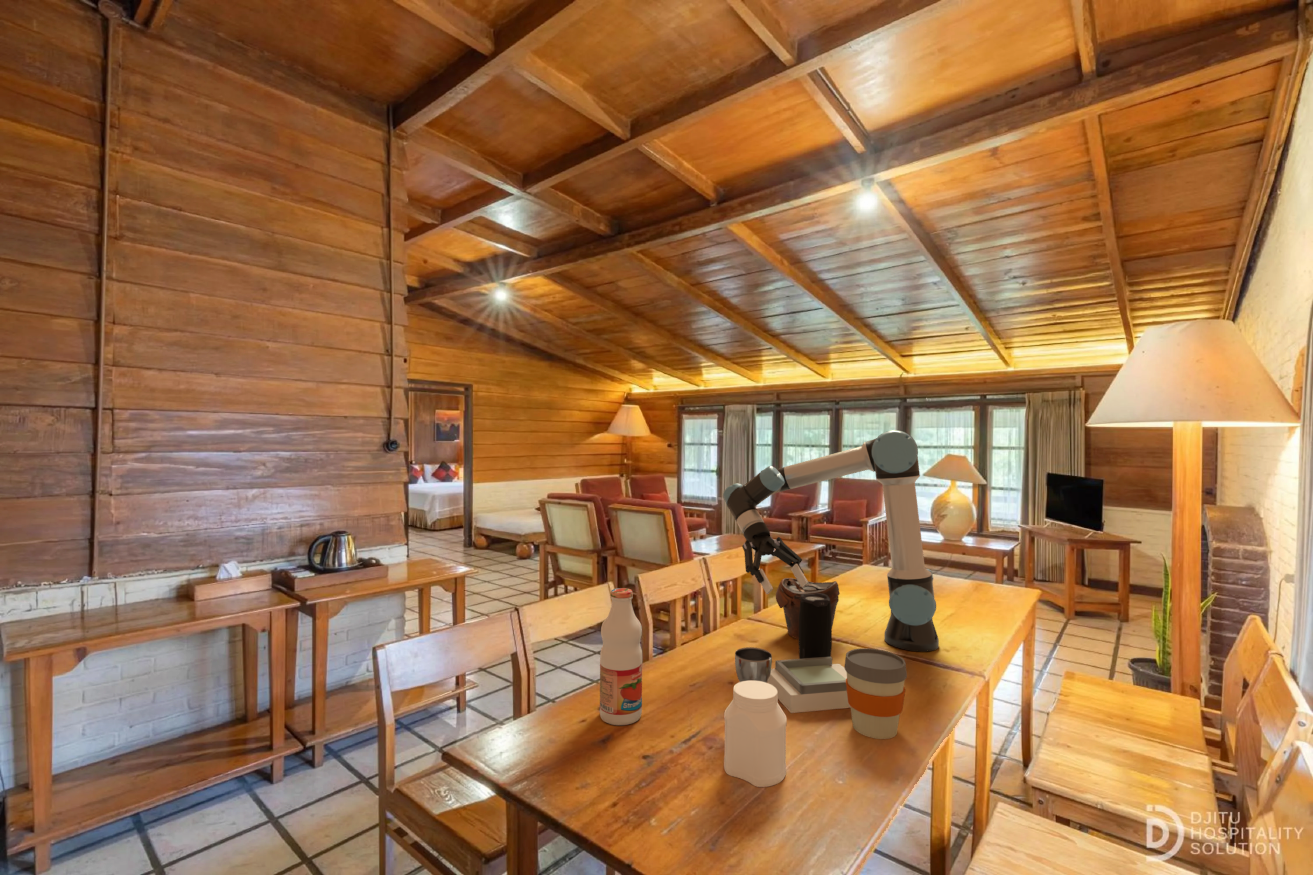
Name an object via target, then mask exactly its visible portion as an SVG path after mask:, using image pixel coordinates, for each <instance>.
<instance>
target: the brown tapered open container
mask: <svg viewBox="0 0 1313 875" xmlns="http://www.w3.org/2000/svg"><path fill="white" fill-rule="evenodd" d="M808 582H809V583H808V584H807V585H806V586H805V587H804V588H802V587H801V586H800V584H799V582H798V581H797V579H796V578H793V577H784V578H782V579H781V580H780V582H779V584H778V586H777V590H776V592H775V600H776V603H777V605H778V607H779V609H783V613H784V619H785V625H786V628H787V633H788V636H790V637H792V638H793V639H796V640H799V610H800V601H801V598H800V597H801V595H802V594H815V593H821V594H825V595H828V597H829V598H830V602H831V614H832V627H833V625H834V619H835V616H836V615H835V614H836V612H837V605H838V603H839V601H840V599H839V598H840V597H839V596H840V594H841V593H840V588H839V584H838V581H836V580H835V581H832V582H831V581H827V582H812V581H808Z"/></svg>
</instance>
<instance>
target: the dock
mask: <svg viewBox="0 0 1313 875" xmlns="http://www.w3.org/2000/svg"><path fill="white" fill-rule="evenodd" d="M774 662H775V663H774V665H775V666H774V668H771V674H770V678H769V680H768V682H767V683H769V684H771V685H773V686H774V687H775V688H776V689H777V691H778V700H779V702H780V704H782V705H783V706H784V707H785V708H786V709H787V710H788V711H789V713H790V714H794V713H795V714H796V713H806V712H816V711H828V710H836V709H837V710H839V709H848V708H850V709H851V706H850V705H849V703H848V697H847V689H846V679H847V672H846V670H845V668H844V666H843V665H842V664H840V663H833V658H832V656H831V657H818V658H804V659H799V658H795V659H794V658H793V659H791V658H790V659H779V660H775V661H774Z"/></svg>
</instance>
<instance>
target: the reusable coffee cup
mask: <svg viewBox="0 0 1313 875" xmlns="http://www.w3.org/2000/svg"><path fill="white" fill-rule="evenodd" d="M844 660H845V661H844V666H843V667H844V668H845V670H846V672H847V679H846V689H847V697H848V703H849V705H850V706H851V708H850V713H851V714H850V715H851V721H852V728H853V729H854V730H855V731H856V732H857V733H859V734H860V735H863V736H865V737H869V738H873V739H877V740H884V739H885V740H887V739H892V738H894V737H896V736H897V733H898V728H899V727H898V726H899V723H900V722H899V721H900V714H902V712H903V709H904V701H905V694H906V687H905V680H906V679H907V677H908V676H907V675H908V673H907V666H906V665H907V664H906V661H905V659H904V658H903V657H901V656H900V655H898V654H896V653H894V652H891V651H887V650H882V649H877V648H854V649H850V650H848V651H847V652H846V654H845V659H844Z"/></svg>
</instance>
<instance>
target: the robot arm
mask: <svg viewBox="0 0 1313 875" xmlns="http://www.w3.org/2000/svg"><path fill="white" fill-rule="evenodd" d="M918 455H919V448H918V444H917V442H916V441H915V439H914V438H913V436H911V435H910V434H909V433H907V432H905V431H902V430H899V429H897V430H896V429H895V430H893V429H892V430H887V431H883V433H881V434H879V435H878V436H877V437H875V438H874V439H871V440H868V441H864V442H863V443H862V445H860V446H858V447H853V448H849V449H846V450H843V451H838V452H835V453H831V454H827V455H824V456H821V457H817V458H813V459H809V460H804V461H801V462H798V463H794V464H790V465H786V466H784V467H780V468H776V467H774V466H772V465H768V466H767V467H765V468H763V469H761V471H760V472H759V473H757V474H756V475H755V476H753V477H752V479H750V480H749V481H747V482H746V483H745V484H742V483H733V484H731V485H729V486H727V487H726V488H725V489H724V491H723V493H722V498H723V499H724V501H725V504H726V507H727V508H728V510H729V512H730V513H731V515H732V517H733V519H734V520H735V522H736V524H737V525H738V527H739V529H740V531H741V533H742V534H743V537H744V539H745V542H744V543H743V544H742V545H741V547H742V549H743V553H744V563H745V564H744V565H745V572H746V573H748V574H750V575H751V576H755V579H756V581H757V582H758V583H759V584H760V585H761V586H762V589H763V590H764V593H765V594H766V595H769V594H770V593H771V592H772V591H773V590H774V588H773V586H772V584H771V582H770V580H769V578H768V577H767V574H766V573H765V571H764V570H763V568H760V566H761V562H762V556H763V557H764V556H772V557H776V558H777V559H779V560H780V561H782V562H784V563H785V564H787V565H788V566H789V567H791V568H790V570H791V572H792V574H793V576H794V577H795V579H797V581H798V582H799V584H800V586H801V587H802V588H804V587H805V586H806V585H807V584H808V583H809V582H810V581H808V579H807V578H806V576H805V574H804V571H803V569H802V567H801V566H800V564H801V563H802V562H803V559H802V558H801V556H799V555H798V554H797V553H796V552H795V551H794V550H792V549H791V548H790V547H789V546H788V545H787V544H786V543H785V542H784V541H783V540H782V538H781V537H779V536H777V538H775V539H773V538H772V537H771V531H770V530H769V528H768V525H767V524H766V522H765V521H764V519H763V518H762V516H761V514H760V512H759V510H758V509H757V507H758V505H760V504H761V503H762V502H764V501H765V500H766V499H768V498H769V497H771V496H773V495H774V494H778V493H780V492H781V493H782V492H785V491H789V490H793V489H796V488H800V487H804V486H808V485H812V484H816V483H821V482H825V481H827V480H832V479H836V478H837V479H838V478H839V477H845V476H848V475H852V474H857V473H860V472H864V471H865V472H866V471H871V472H875V479H876V480H877V481H878V483H880V484H881V485H882V493H883V502H884V509H885V510H884V511H885V518H886V519H885V520H886V526H887V536H888V544H889V545H888V546H889V553H890V554H889V555H890V562H891V569H890V570H889V571H888V572H887V573H886V576H887V584H888V585H887V586H888V592H889V600H888V606H889V609H890V616H889V619H888V622H887V624H886V627H885V628H886V629H885V630H884V641H885V643H887V644H888V645H890V646H892V647H895V648H898V649H901V650H905V651H909V652H910V651H911V652H922V653H923V652H932V651H935V650H938V648H939V647H940V646H939V645H940V644H939V643H940V642H939V641H940V640H939V636H938V634H937V630H936V627H935V623H934V621H933V618H934V616H935V613H936V610H937V601H936V599H935V592H934V591H935V590H934V584H933V583H934V575H933V573H934V572H933V571H932V570H931V569H929V568H926V567H925V557H924V549H923V540H922V534H921V533H922V532H921V524H920V515H919V514H920V513H919V506H918V498H917V491H916V490H917V489H916V481H917V480H918V479H919V478H920V476H921V475H920V465H919V464H920V463H919V456H918ZM753 550H754V555H753ZM753 557H754V558H753Z"/></svg>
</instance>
